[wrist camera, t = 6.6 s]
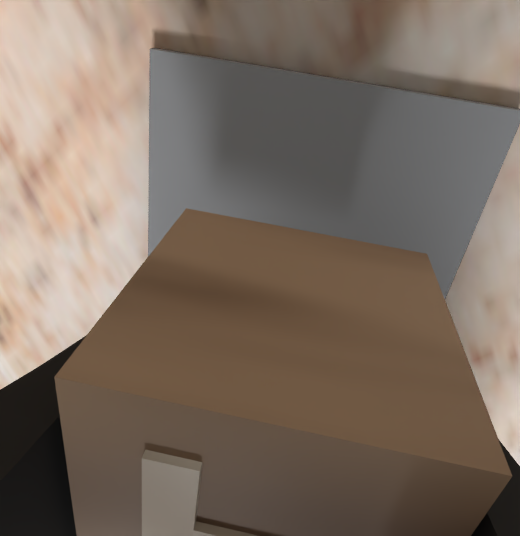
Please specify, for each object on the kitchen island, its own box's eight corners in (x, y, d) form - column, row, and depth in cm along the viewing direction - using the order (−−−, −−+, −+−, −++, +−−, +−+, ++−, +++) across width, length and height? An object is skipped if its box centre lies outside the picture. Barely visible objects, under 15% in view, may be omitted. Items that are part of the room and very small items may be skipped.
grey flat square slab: (405, 381, 17) (407, 388, 16) (151, 328, 17) (147, 334, 17) (519, 109, 12) (525, 111, 11) (154, 48, 12) (149, 48, 12)
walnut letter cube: (363, 420, 11) (381, 674, 7) (176, 381, 12) (81, 600, 7) (427, 253, 9) (516, 486, 4) (185, 208, 9) (47, 384, 5)
